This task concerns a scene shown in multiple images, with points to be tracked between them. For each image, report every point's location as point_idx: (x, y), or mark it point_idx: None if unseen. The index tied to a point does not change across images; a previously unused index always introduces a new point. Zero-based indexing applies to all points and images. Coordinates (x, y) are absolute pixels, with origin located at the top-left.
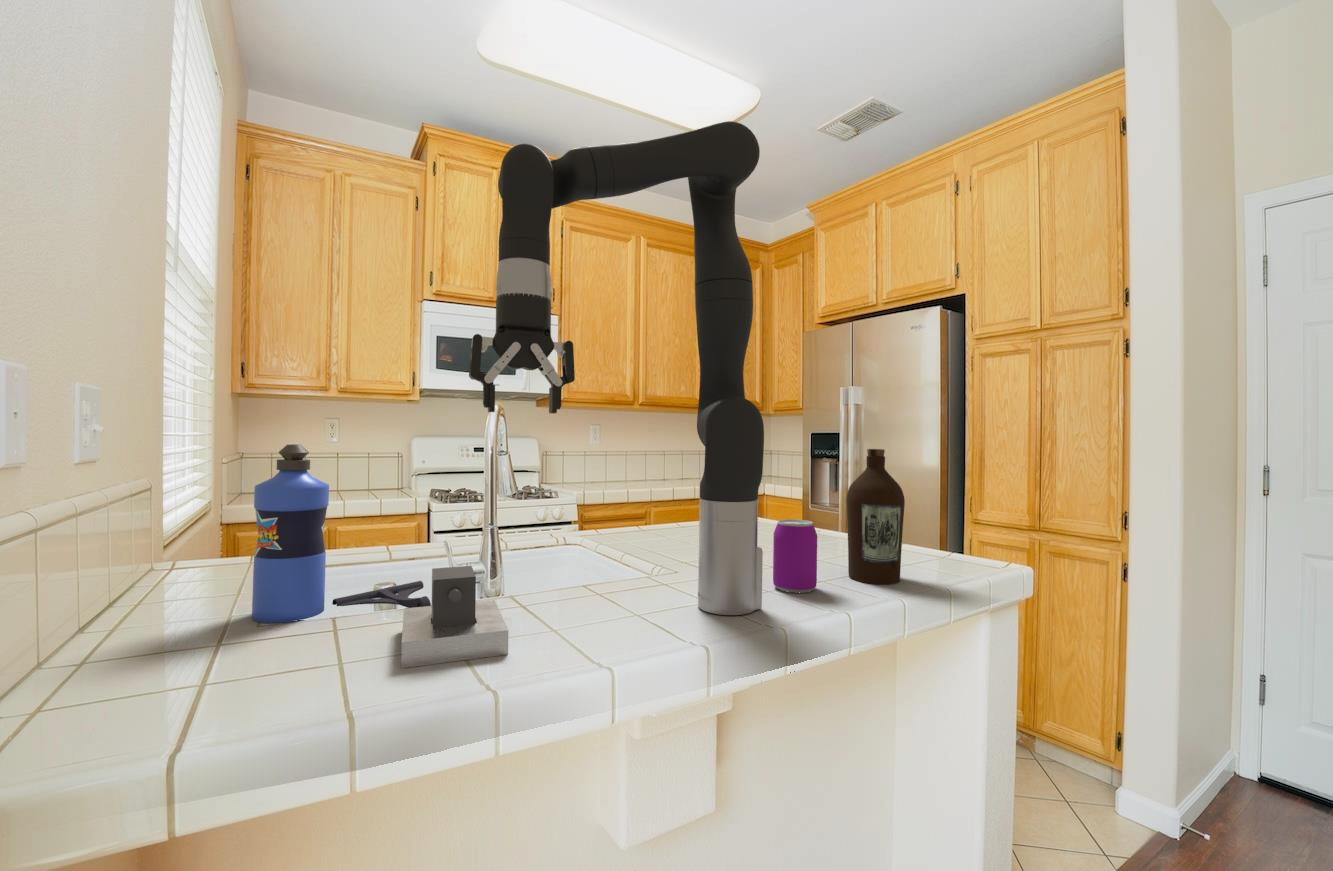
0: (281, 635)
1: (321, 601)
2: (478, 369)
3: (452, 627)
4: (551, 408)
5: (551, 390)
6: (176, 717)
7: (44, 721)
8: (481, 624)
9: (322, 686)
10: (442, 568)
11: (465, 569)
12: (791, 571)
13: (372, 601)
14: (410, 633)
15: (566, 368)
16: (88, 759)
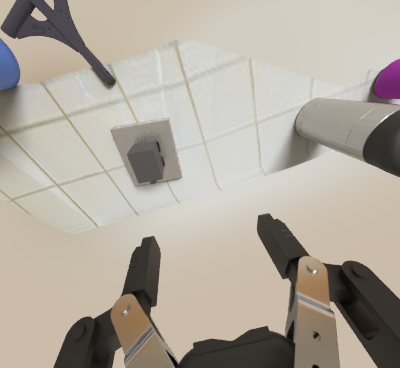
0: (34, 121)
1: (9, 63)
2: (108, 362)
3: None
4: (261, 234)
5: (280, 266)
6: (75, 208)
7: (26, 206)
8: (167, 167)
9: (112, 192)
10: (134, 155)
11: (151, 160)
12: (390, 95)
13: (44, 33)
14: (134, 176)
15: (354, 329)
16: (73, 226)
